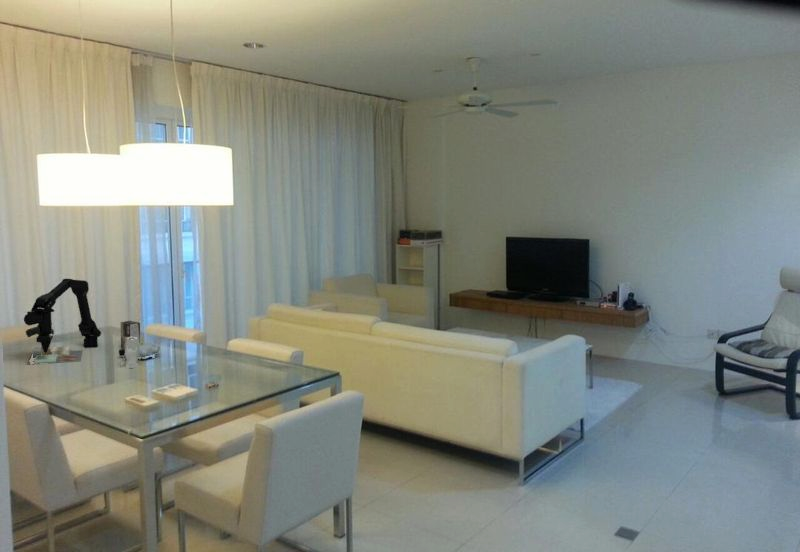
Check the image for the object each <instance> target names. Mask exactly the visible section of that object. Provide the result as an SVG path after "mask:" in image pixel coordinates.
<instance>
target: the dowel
mask: <svg viewBox="0 0 800 552" xmlns="http://www.w3.org/2000/svg"><path fill="white" fill-rule="evenodd" d="M40 345H41V346H40V347H41V354H42V355H49V354H51V353H50V352H51V344H50V345H49V348H48V350H47V353H44V350H43V347H42V344H41V343H40Z"/></svg>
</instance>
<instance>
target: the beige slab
mask: <svg viewBox="0 0 800 552" xmlns="http://www.w3.org/2000/svg"><path fill="white" fill-rule="evenodd" d="M70 351H71V346H69V345H68V346H56V347H55V346H54V347H52V350H51V352H52V355H55V354H57V356H69V354H70Z"/></svg>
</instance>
